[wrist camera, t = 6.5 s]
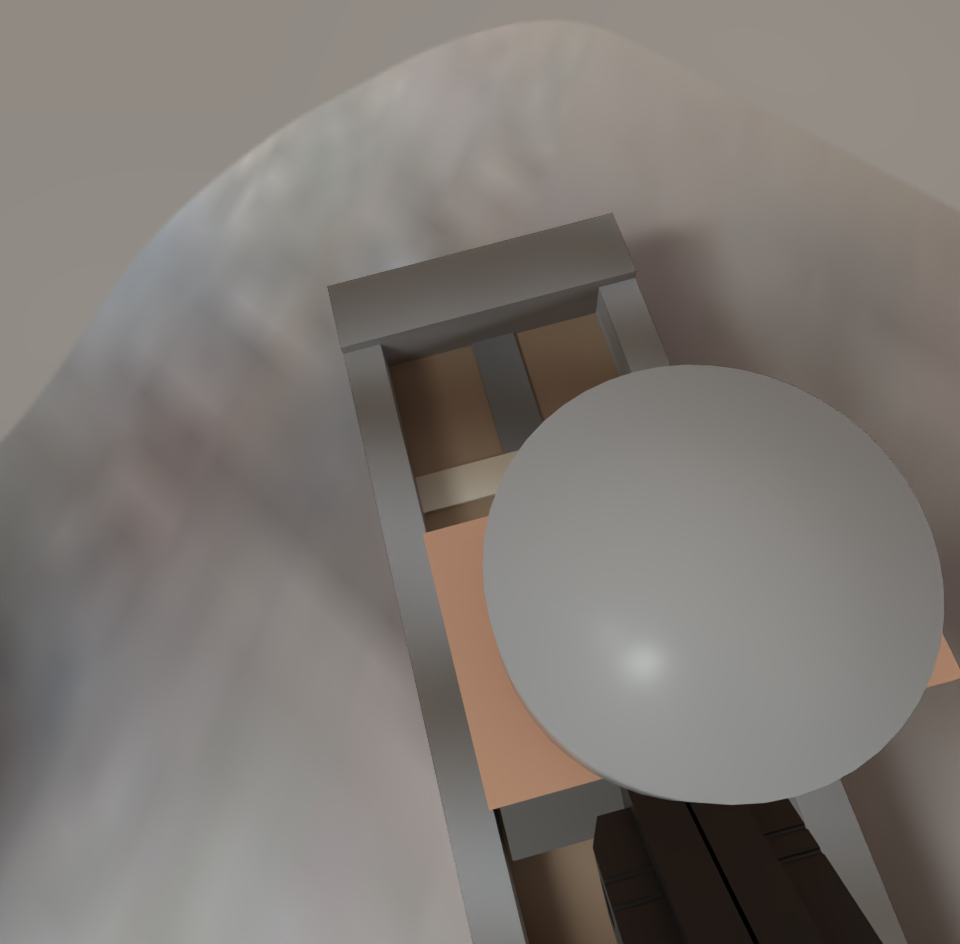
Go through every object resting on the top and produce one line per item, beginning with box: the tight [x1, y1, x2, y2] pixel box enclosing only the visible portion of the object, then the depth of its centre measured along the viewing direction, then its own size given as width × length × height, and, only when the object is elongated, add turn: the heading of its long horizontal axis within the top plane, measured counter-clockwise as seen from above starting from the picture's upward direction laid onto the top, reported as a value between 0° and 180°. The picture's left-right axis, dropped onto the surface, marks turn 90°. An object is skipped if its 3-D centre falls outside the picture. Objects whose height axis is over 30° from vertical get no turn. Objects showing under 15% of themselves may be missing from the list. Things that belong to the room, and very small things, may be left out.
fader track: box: [327, 213, 908, 944], centre depth 18 cm, size 24×8×4 cm, turn 15°
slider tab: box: [423, 365, 960, 861], centre depth 12 cm, size 5×6×12 cm
